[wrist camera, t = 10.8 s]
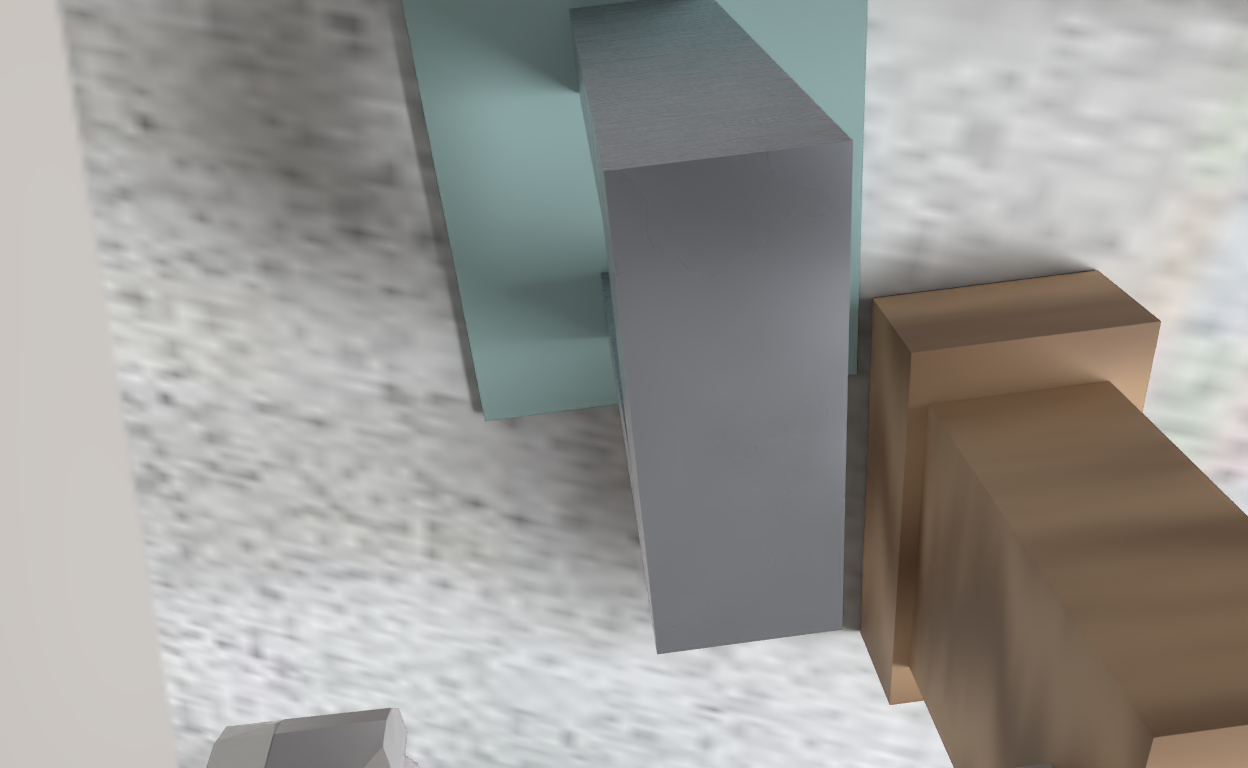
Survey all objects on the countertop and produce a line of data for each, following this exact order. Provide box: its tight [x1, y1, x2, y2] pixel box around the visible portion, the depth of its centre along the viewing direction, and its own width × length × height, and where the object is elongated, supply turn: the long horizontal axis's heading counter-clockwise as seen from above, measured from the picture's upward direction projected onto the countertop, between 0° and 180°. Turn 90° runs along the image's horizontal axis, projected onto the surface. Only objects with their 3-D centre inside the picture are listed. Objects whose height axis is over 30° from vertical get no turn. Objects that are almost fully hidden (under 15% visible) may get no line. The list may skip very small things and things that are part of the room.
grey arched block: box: [569, 0, 853, 654], centre depth 19 cm, size 8×3×11 cm, turn 6°
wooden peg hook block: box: [860, 270, 1248, 768], centre depth 23 cm, size 12×20×14 cm, turn 96°
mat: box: [402, 0, 868, 421], centre depth 23 cm, size 12×10×1 cm
